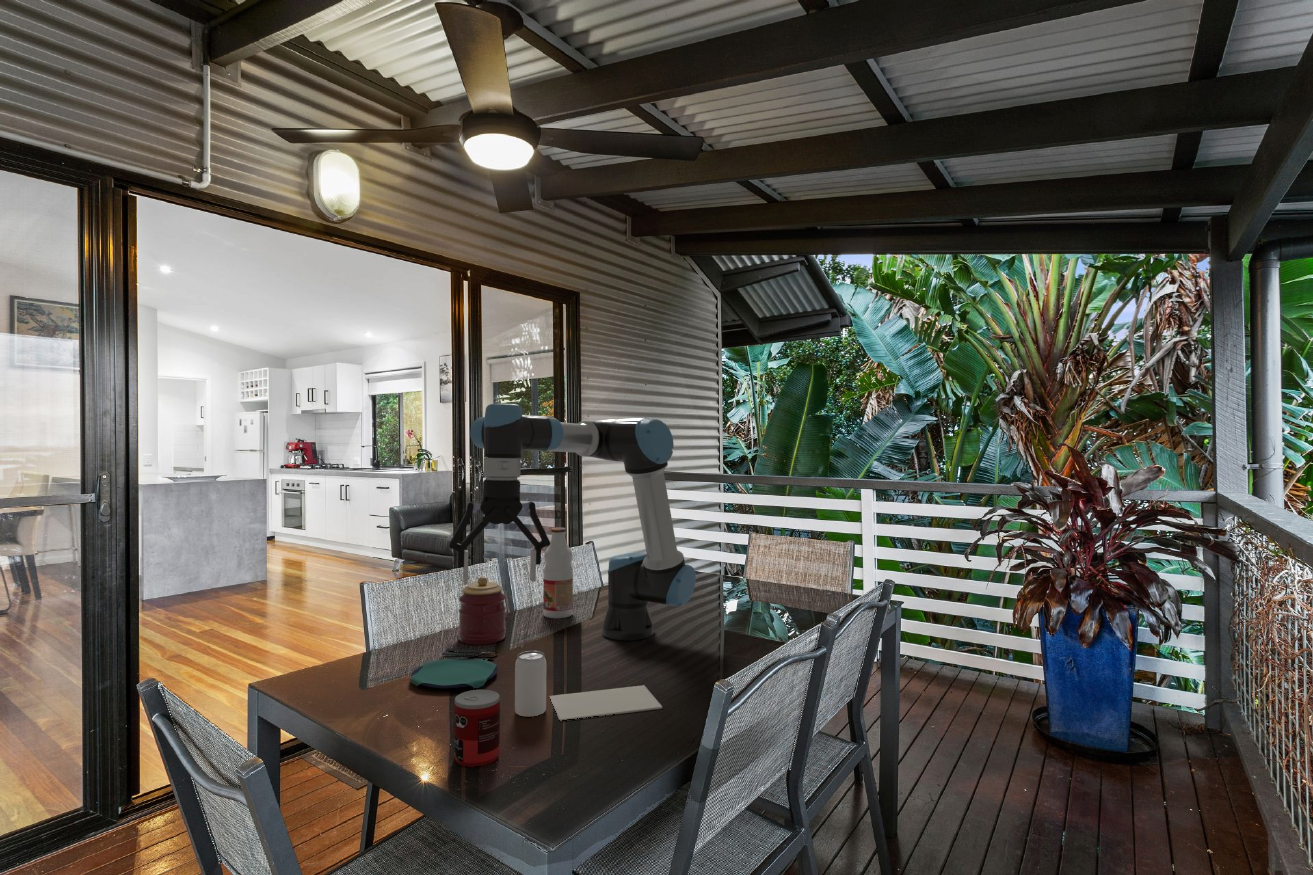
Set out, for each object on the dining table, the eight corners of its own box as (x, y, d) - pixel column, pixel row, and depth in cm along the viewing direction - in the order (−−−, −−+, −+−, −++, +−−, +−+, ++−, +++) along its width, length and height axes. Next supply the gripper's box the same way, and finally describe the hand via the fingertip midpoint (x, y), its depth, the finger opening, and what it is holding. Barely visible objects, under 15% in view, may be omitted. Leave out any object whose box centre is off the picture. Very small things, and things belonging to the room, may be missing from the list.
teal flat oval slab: (397, 693, 153) (397, 683, 153) (440, 653, 183) (440, 644, 183) (486, 695, 153) (486, 685, 153) (514, 654, 183) (514, 646, 183)
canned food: (458, 748, 127) (459, 689, 127) (502, 747, 127) (502, 688, 127) (449, 768, 119) (450, 705, 119) (496, 767, 120) (496, 704, 120)
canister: (482, 648, 186) (483, 583, 186) (448, 641, 192) (448, 578, 192) (515, 636, 197) (515, 575, 197) (481, 629, 203) (482, 570, 203)
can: (551, 708, 146) (552, 652, 146) (536, 720, 140) (537, 661, 139) (524, 704, 148) (525, 648, 148) (508, 715, 142) (509, 657, 142)
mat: (549, 697, 151) (549, 695, 151) (644, 686, 158) (644, 685, 158) (559, 721, 139) (559, 719, 139) (662, 708, 146) (662, 706, 146)
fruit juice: (569, 619, 215) (570, 530, 215) (540, 618, 216) (540, 530, 216) (574, 611, 225) (575, 526, 225) (546, 610, 225) (546, 526, 225)
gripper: (438, 479, 134) (436, 588, 133) (565, 479, 142) (563, 582, 141) (438, 477, 141) (435, 580, 140) (558, 478, 149) (556, 575, 148)
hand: (499, 582), depth 141 cm, fingers open, 13 cm apart
